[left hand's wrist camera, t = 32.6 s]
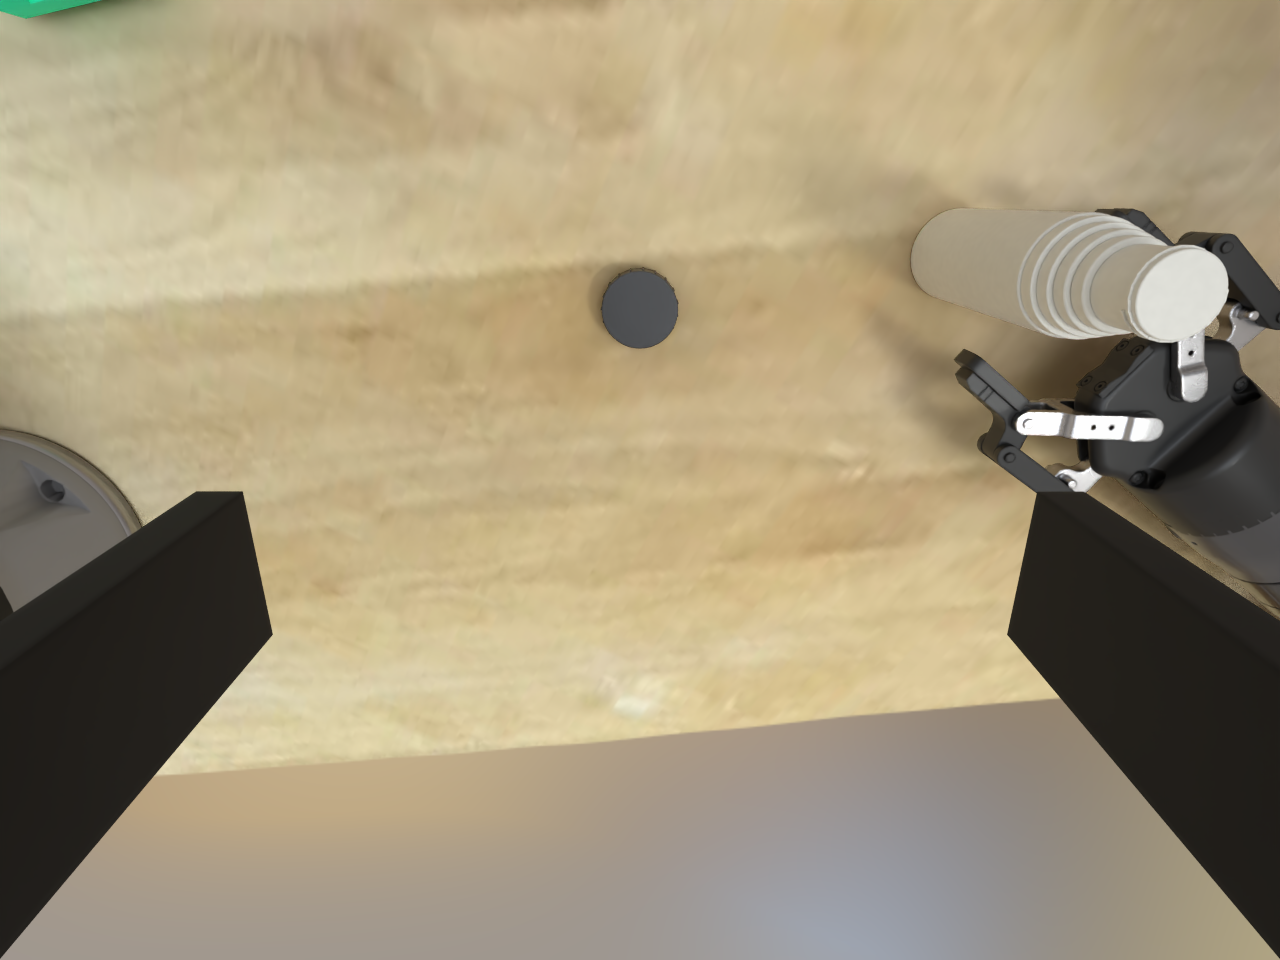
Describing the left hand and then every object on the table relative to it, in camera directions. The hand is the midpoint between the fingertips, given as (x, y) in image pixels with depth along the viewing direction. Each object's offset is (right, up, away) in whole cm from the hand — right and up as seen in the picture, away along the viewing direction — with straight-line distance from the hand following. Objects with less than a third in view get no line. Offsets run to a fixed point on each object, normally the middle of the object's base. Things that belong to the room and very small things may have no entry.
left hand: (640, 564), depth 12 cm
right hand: (+19, +11, +23) cm, 32 cm away
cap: (0, +11, +28) cm, 30 cm away
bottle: (+18, +14, +29) cm, 36 cm away
